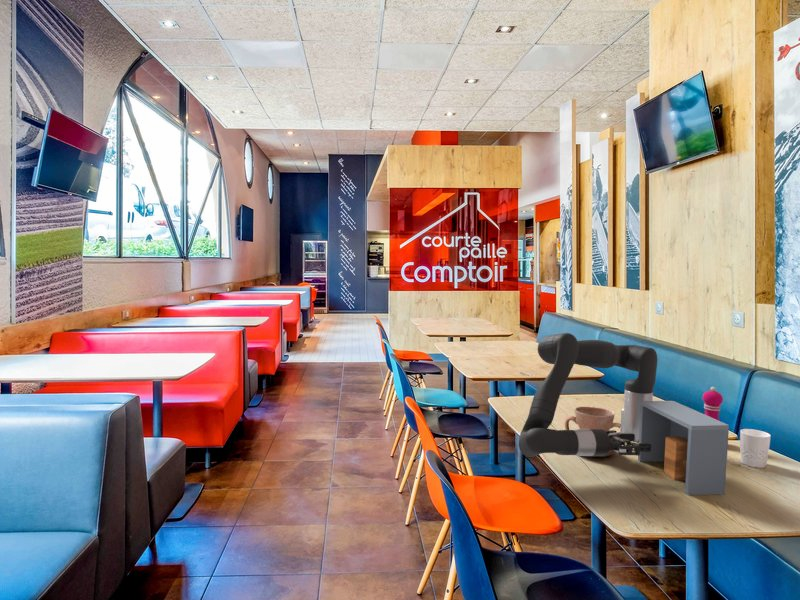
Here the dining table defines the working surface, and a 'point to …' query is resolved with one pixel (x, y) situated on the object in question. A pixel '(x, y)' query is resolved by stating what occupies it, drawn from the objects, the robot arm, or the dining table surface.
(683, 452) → the orange block
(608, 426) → the ceramic jug
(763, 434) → the white cup
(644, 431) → the grey cubby
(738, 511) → the dining table surface
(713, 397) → the pepper mill
